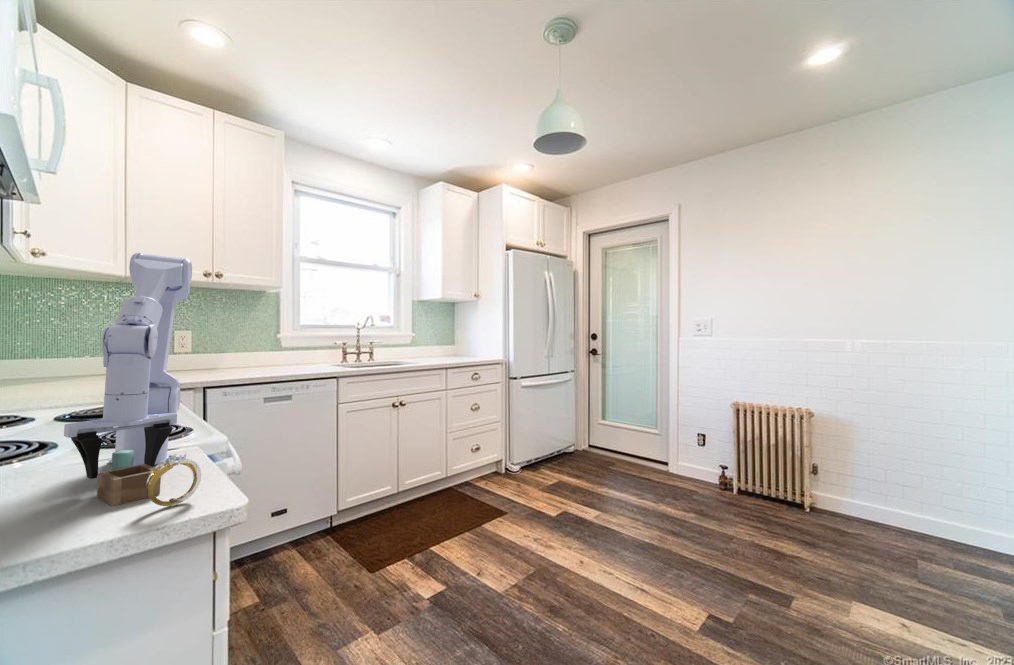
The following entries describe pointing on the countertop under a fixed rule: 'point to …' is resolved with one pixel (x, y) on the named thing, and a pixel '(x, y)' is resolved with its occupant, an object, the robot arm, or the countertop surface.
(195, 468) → the ring
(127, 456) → the teal cylinder
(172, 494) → the countertop surface
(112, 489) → the bead block
